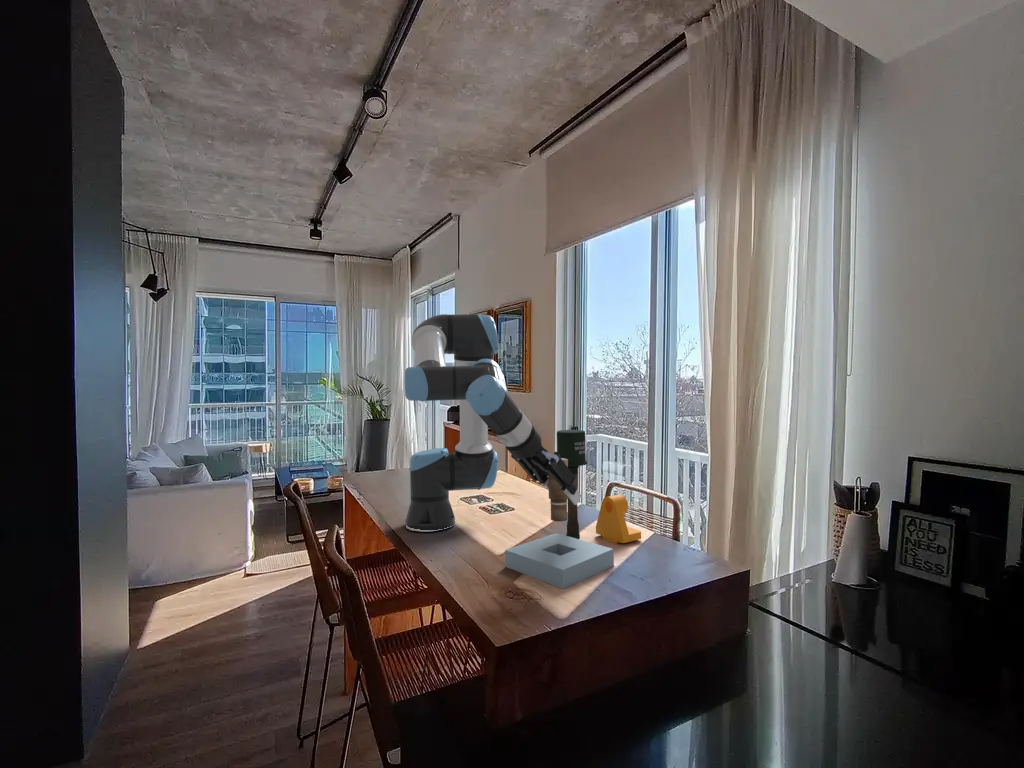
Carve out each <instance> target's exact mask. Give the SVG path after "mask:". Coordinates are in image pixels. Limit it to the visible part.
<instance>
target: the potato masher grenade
mask: <svg viewBox="0 0 1024 768" xmlns="http://www.w3.org/2000/svg"><path fill="white" fill-rule="evenodd" d="M586 445H587V444H586V431H585V430H582V429H561V430H557V431H556V452H558V453H559V454H560V457H561V458H565V459H568V468H569V470H570V471H571V472H572V473H573V475H574V476H575V477H576V479H575V481H574V483H573V485H574V486H575V487H576V489H577V490H578V485H579V484H578V483H579V481H578V480H579V479H578V478H579V477H578V476H579V475H578V473H579V468H580V467H581V466H582V467H583V466H586V465H588V461H587V452H586V451H587V450H586ZM578 513H579V511H578V504H577V505H574V504H573V503H572V501H571V500H570V499H569V498H568V499H567V523H566V534H565V536H569V537H572V538H576V539H579V540H580V538H581V535H580V534H581V533H580V524H579V519H578V516H579V515H578Z"/></svg>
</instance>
